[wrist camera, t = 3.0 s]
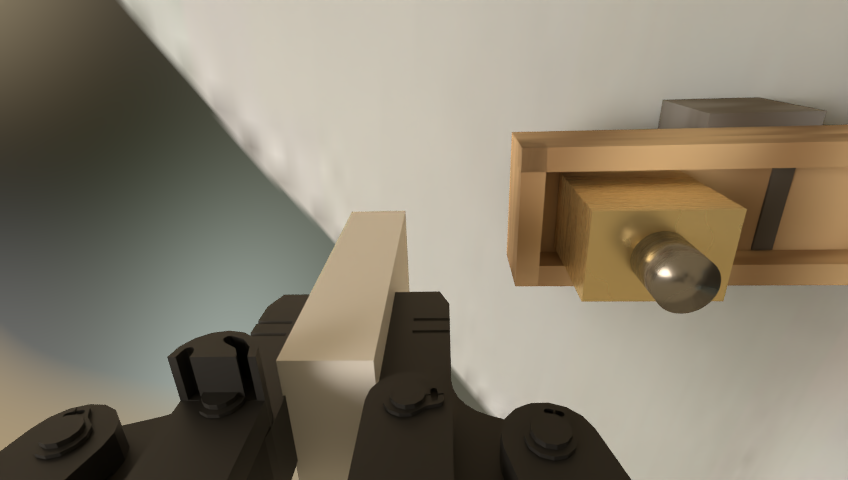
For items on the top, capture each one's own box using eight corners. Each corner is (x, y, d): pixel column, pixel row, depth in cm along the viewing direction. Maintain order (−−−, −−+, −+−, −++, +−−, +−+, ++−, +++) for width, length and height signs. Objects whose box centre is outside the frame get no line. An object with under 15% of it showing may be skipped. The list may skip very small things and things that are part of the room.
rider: (678, 169, 16) (786, 232, 11) (664, 244, 17) (756, 333, 12) (560, 172, 16) (611, 234, 11) (553, 245, 17) (597, 332, 12)
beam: (929, 93, 20) (1146, 118, 14) (879, 224, 22) (1044, 296, 16) (501, 104, 21) (523, 132, 15) (497, 229, 23) (514, 298, 17)
